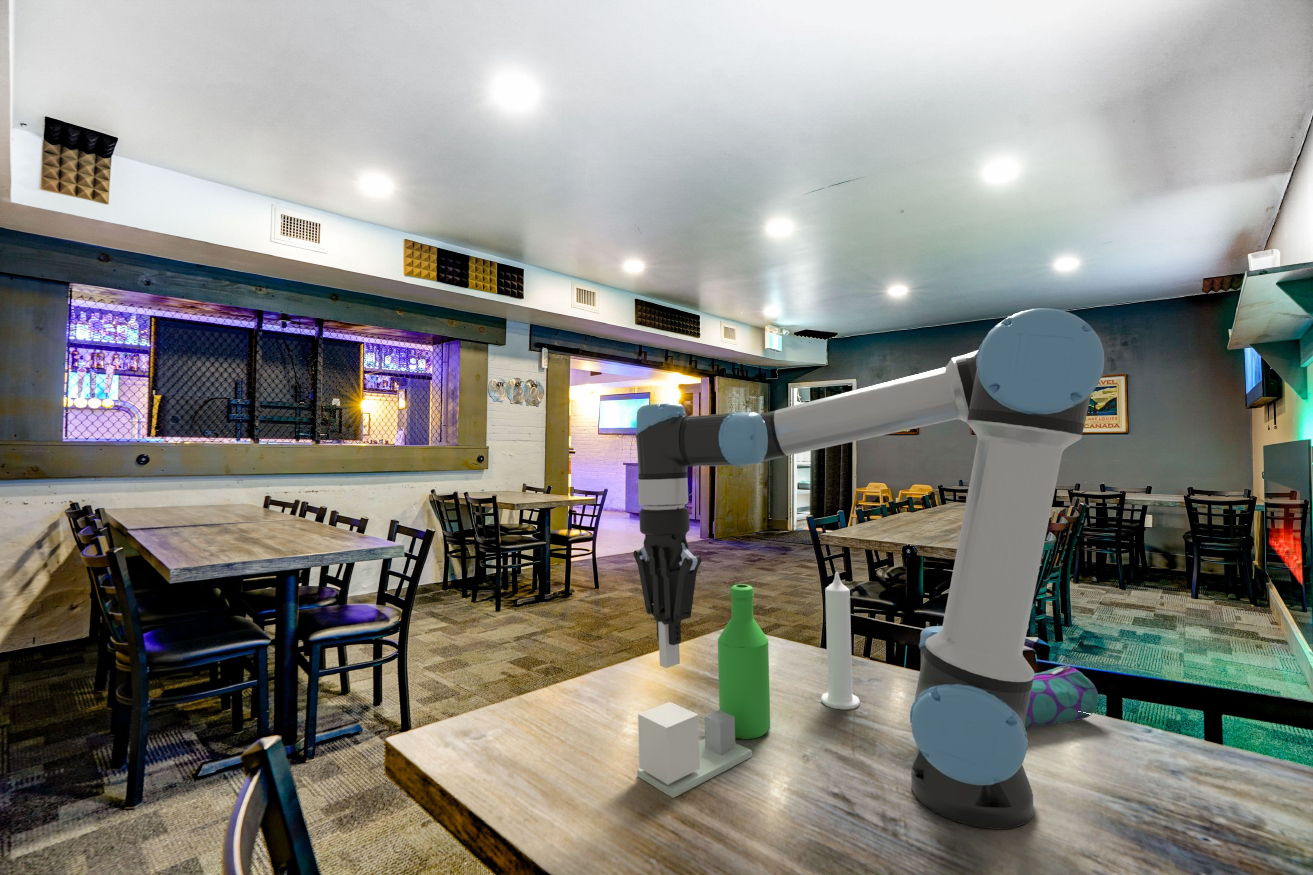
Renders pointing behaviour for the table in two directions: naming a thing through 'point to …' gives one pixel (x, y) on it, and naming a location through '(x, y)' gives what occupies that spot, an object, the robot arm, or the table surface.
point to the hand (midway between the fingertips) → (669, 664)
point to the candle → (839, 648)
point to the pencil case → (1060, 697)
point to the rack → (707, 755)
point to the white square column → (668, 742)
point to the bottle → (744, 668)
